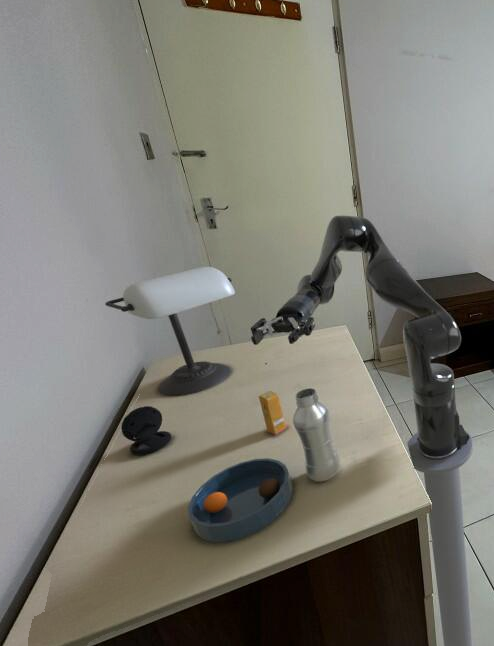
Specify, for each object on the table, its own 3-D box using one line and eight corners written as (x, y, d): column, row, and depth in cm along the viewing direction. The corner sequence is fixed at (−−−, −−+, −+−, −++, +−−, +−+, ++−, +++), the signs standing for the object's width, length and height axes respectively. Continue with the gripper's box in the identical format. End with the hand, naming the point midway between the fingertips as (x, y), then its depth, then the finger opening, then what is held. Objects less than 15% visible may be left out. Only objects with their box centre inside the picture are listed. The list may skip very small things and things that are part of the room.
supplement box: (288, 427, 98) (279, 393, 94) (275, 435, 95) (265, 400, 91) (279, 423, 99) (270, 389, 95) (266, 431, 96) (256, 396, 93)
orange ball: (231, 499, 77) (226, 485, 75) (227, 514, 74) (221, 499, 72) (209, 505, 76) (203, 491, 74) (204, 520, 72) (198, 505, 71)
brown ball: (282, 486, 80) (278, 472, 78) (280, 499, 77) (276, 485, 75) (262, 491, 78) (258, 477, 77) (259, 505, 75) (254, 490, 74)
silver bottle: (348, 465, 85) (331, 386, 77) (327, 489, 79) (306, 406, 72) (323, 459, 87) (305, 381, 79) (301, 482, 81) (278, 400, 73)
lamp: (177, 416, 103) (127, 293, 90) (128, 394, 113) (76, 280, 99) (269, 369, 125) (240, 264, 111) (221, 354, 135) (189, 256, 121)
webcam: (157, 432, 97) (142, 397, 93) (180, 436, 95) (166, 401, 91) (122, 453, 90) (104, 417, 86) (146, 459, 88) (129, 422, 84)
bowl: (295, 464, 86) (291, 450, 84) (288, 524, 72) (283, 508, 70) (208, 486, 81) (202, 471, 79) (182, 555, 67) (174, 539, 65)
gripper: (267, 300, 109) (237, 328, 95) (320, 299, 110) (299, 327, 96) (273, 324, 113) (246, 355, 98) (325, 323, 114) (305, 353, 99)
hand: (272, 341), depth 97 cm, fingers open, 8 cm apart
